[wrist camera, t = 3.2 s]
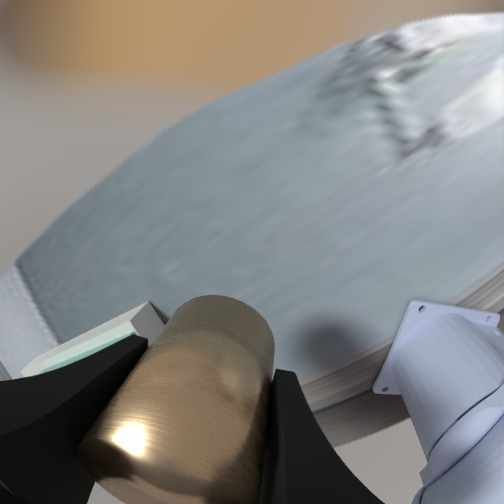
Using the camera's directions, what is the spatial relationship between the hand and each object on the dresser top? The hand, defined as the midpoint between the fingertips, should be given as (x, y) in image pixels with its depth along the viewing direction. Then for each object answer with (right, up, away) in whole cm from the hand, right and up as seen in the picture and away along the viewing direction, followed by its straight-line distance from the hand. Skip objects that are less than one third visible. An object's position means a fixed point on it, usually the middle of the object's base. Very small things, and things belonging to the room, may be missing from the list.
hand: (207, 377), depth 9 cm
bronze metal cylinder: (0, +1, +2) cm, 2 cm away
